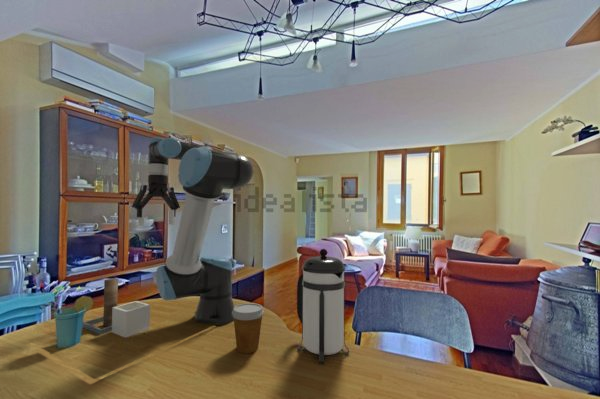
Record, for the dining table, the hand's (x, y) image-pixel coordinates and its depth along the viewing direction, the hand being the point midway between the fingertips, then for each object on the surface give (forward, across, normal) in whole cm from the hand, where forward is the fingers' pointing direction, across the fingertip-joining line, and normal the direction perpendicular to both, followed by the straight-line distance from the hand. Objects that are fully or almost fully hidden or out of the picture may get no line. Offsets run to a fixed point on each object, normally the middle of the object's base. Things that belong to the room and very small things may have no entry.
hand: (156, 225), depth 122 cm
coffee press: (+35, -3, +75) cm, 83 cm away
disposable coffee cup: (+35, +7, +56) cm, 66 cm away
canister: (+35, +19, +16) cm, 43 cm away
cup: (+35, +35, +10) cm, 50 cm away
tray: (+35, +20, +5) cm, 40 cm away
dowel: (+34, +20, +5) cm, 40 cm away
